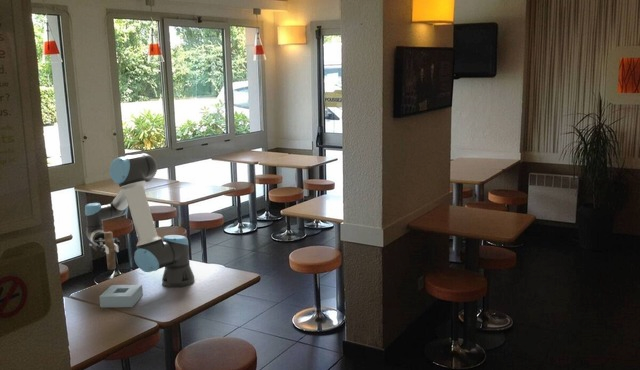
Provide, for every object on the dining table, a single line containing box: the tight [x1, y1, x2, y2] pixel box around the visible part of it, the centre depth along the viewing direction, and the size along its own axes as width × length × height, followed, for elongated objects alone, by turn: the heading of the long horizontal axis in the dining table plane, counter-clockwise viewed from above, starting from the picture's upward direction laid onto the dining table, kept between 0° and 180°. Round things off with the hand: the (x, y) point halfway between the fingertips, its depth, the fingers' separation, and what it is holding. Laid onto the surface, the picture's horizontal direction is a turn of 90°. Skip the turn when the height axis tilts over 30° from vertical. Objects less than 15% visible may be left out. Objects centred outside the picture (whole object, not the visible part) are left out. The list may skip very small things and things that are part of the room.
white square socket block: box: [98, 284, 144, 308], centre depth 255 cm, size 14×14×5 cm
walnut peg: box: [104, 231, 117, 270], centre depth 264 cm, size 4×4×17 cm
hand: (112, 250), depth 259 cm, fingers closed on walnut peg, 3 cm apart
